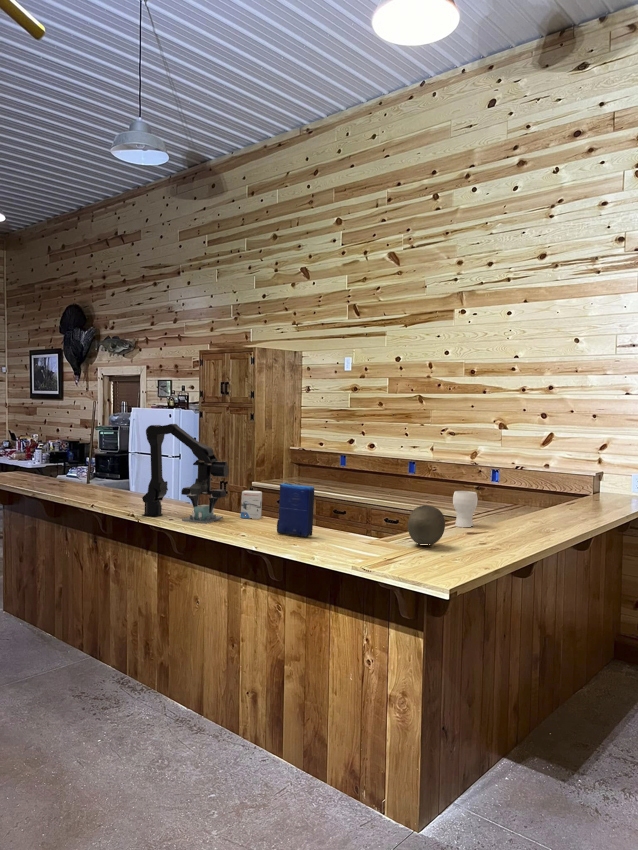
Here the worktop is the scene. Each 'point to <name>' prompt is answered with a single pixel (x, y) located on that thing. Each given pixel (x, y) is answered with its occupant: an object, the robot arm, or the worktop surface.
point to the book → (295, 510)
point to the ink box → (251, 504)
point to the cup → (464, 507)
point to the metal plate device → (199, 520)
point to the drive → (203, 509)
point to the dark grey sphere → (426, 525)
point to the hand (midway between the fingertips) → (203, 512)
